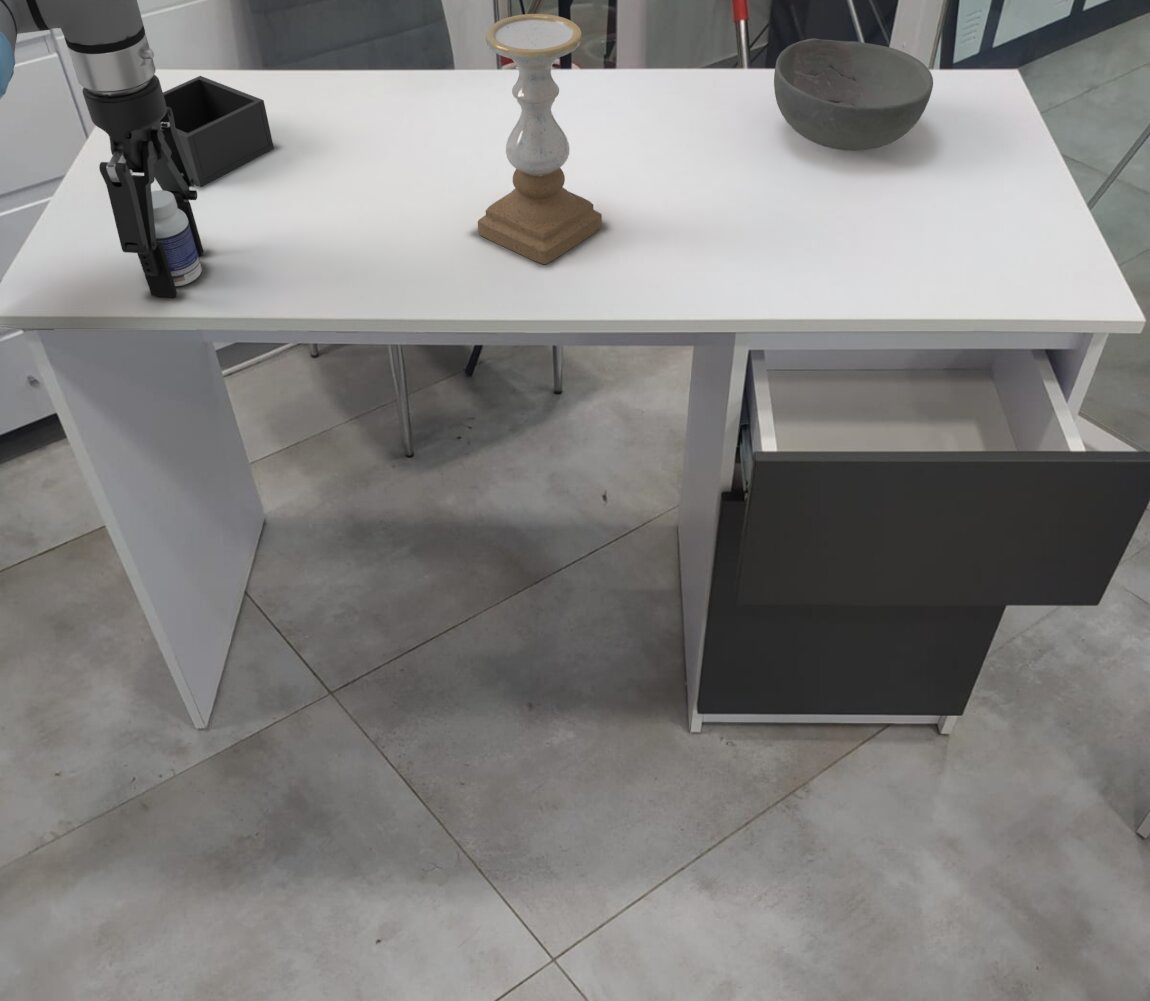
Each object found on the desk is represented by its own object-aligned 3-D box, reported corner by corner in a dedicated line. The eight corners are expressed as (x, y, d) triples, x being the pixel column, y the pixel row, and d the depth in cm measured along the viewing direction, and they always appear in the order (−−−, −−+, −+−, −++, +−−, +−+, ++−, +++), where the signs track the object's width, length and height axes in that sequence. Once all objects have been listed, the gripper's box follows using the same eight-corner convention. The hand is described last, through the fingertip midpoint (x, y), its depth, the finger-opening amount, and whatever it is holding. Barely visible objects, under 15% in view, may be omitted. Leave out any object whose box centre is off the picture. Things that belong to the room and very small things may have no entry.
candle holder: (545, 266, 129) (538, 63, 112) (476, 234, 134) (460, 35, 117) (604, 226, 135) (606, 28, 118) (536, 197, 140) (529, 3, 123)
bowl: (811, 188, 141) (823, 113, 134) (741, 119, 155) (749, 47, 147) (949, 161, 146) (967, 87, 138) (869, 96, 159) (882, 25, 152)
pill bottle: (211, 266, 130) (190, 190, 123) (186, 291, 126) (163, 215, 119) (171, 258, 131) (147, 183, 124) (145, 283, 127) (120, 207, 120)
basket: (200, 187, 142) (187, 137, 138) (138, 158, 148) (123, 110, 143) (274, 148, 150) (263, 99, 145) (212, 123, 155) (200, 75, 150)
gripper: (113, 130, 104) (176, 328, 121) (192, 39, 119) (239, 227, 135) (37, 126, 105) (110, 324, 121) (124, 37, 120) (179, 223, 136)
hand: (178, 272), depth 128 cm, fingers open, 8 cm apart
